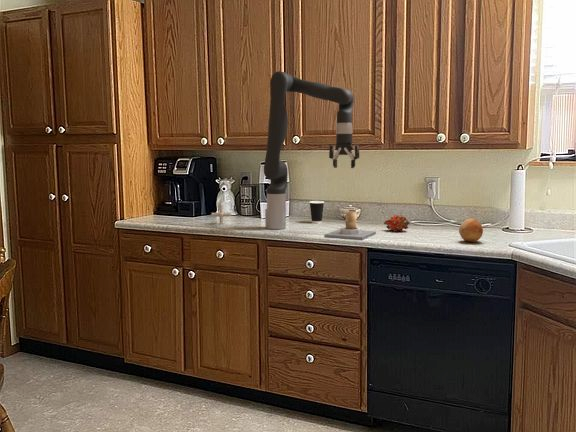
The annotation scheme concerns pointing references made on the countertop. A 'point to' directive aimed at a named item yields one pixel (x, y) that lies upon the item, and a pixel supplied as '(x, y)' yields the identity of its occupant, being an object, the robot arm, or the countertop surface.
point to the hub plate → (350, 234)
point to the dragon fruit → (397, 223)
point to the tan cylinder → (351, 219)
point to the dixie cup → (316, 211)
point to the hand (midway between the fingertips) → (344, 168)
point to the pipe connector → (221, 214)
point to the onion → (471, 230)
